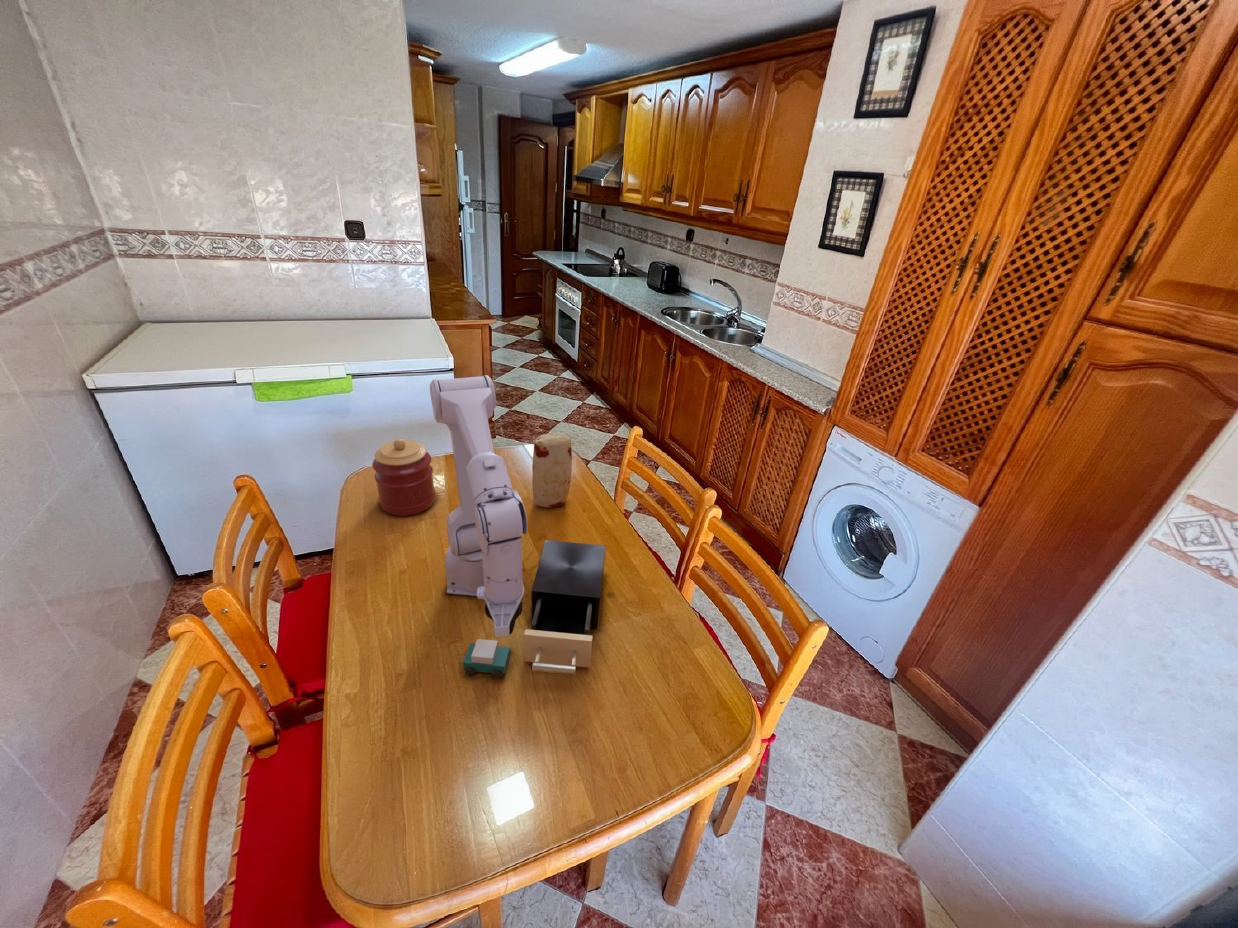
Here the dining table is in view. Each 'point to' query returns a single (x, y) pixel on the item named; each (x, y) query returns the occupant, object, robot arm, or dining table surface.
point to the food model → (551, 470)
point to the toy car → (486, 658)
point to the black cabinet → (570, 573)
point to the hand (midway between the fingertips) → (505, 630)
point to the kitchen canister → (404, 477)
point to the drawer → (559, 635)
